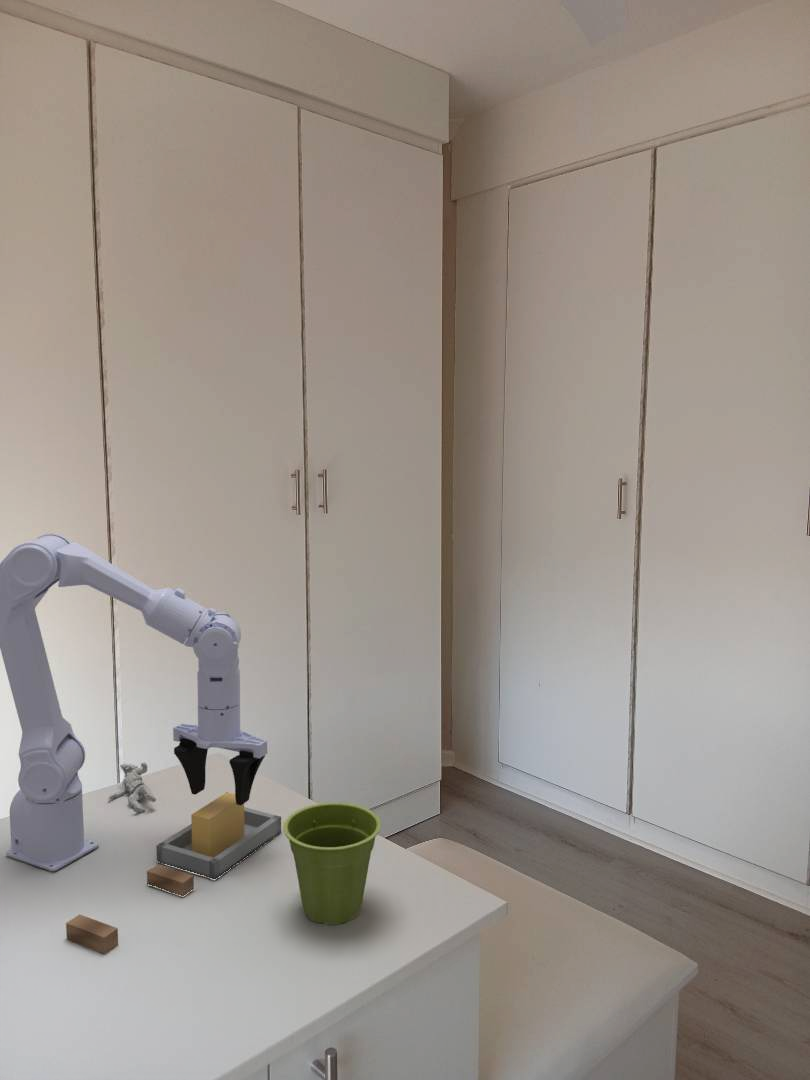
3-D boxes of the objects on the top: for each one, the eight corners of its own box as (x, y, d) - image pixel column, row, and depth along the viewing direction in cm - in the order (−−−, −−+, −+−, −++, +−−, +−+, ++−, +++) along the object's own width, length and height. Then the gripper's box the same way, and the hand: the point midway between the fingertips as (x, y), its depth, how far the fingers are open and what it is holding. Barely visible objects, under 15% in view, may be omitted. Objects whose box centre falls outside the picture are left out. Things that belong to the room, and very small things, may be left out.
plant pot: (263, 914, 104) (262, 827, 102) (329, 874, 113) (329, 794, 111) (335, 951, 97) (336, 858, 95) (399, 905, 106) (400, 820, 104)
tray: (156, 862, 115) (156, 845, 115) (226, 818, 129) (226, 802, 128) (215, 880, 111) (214, 863, 111) (281, 832, 124) (281, 816, 124)
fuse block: (192, 856, 116) (191, 814, 115) (227, 831, 123) (226, 792, 123) (210, 860, 115) (209, 819, 114) (244, 835, 122) (243, 796, 121)
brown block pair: (66, 939, 98) (66, 923, 98) (158, 878, 111) (157, 864, 111) (104, 953, 95) (104, 937, 95) (193, 890, 109) (193, 875, 108)
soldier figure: (118, 824, 128) (93, 776, 137) (139, 835, 132) (113, 787, 140) (156, 786, 130) (129, 740, 138) (175, 798, 133) (148, 752, 141)
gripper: (157, 703, 116) (159, 797, 118) (245, 720, 110) (246, 819, 112) (190, 689, 123) (192, 779, 124) (275, 704, 117) (276, 798, 119)
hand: (220, 796), depth 119 cm, fingers open, 7 cm apart
